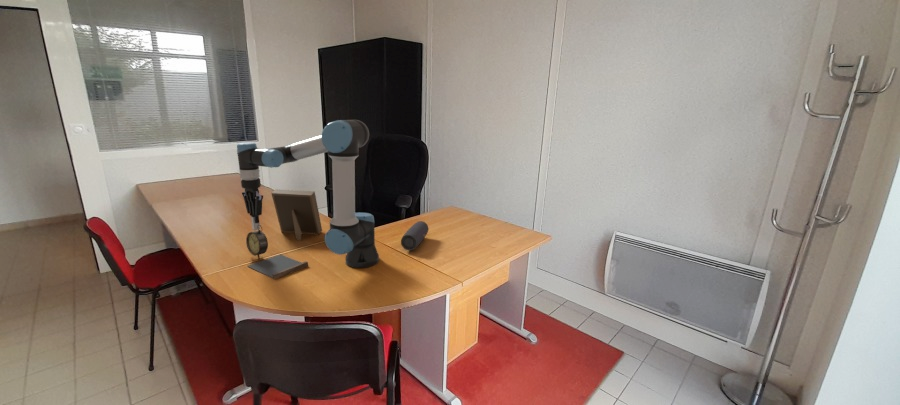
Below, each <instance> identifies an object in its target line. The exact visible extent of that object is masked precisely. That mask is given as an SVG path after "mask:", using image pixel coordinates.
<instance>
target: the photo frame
mask: <svg viewBox="0 0 900 405" xmlns="http://www.w3.org/2000/svg"><path fill="white" fill-rule="evenodd" d="M270 195H271V197H272V202H273V206H274V208H275V209H274V210H275V212H276V216H277V221H278V224H279V229H280V232H281V233H288V234H295V239H296V240H298V241H302V237H303V236H302V234H304V235H315V236H316V235H320V234H321V233H322V231H323V227H322V223H321V218H320V212H319V208H318V202H317V196H316V191H313V190H312V191H311V190H293V189H291V190H290V189H278V188H277V189H276V188H275V189H274V190H273V191H272V192H271V194H270Z"/></svg>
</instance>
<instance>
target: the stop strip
mask: <svg viewBox="0 0 900 405" xmlns="http://www.w3.org/2000/svg"><path fill="white" fill-rule="evenodd" d="M307 267H309V262H308V261H306V260H305V261H303V262H301V263H300V264H297V265H294V266H292V267H289V268H287V269H284V270H281V271H279V272H276V273H274V274H272V275H273V278H272V279H273V280H277V279H279V278H282V277H284V276H287V275H290V274H291V273H295V272H296V271H300V270H302V269H304V268H307Z"/></svg>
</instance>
